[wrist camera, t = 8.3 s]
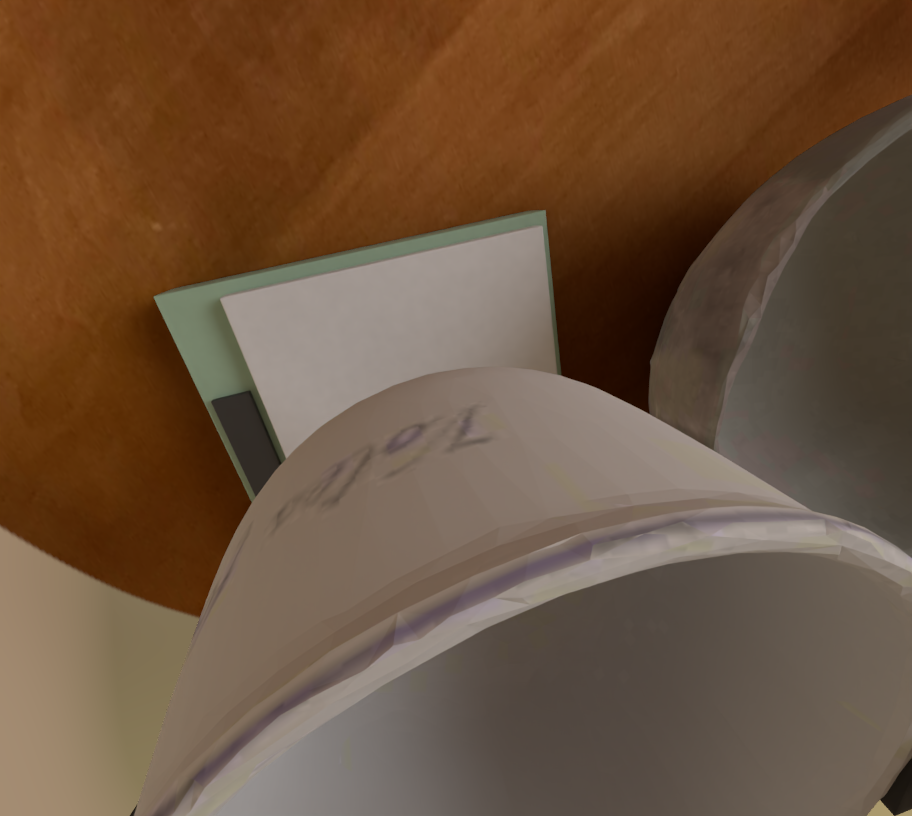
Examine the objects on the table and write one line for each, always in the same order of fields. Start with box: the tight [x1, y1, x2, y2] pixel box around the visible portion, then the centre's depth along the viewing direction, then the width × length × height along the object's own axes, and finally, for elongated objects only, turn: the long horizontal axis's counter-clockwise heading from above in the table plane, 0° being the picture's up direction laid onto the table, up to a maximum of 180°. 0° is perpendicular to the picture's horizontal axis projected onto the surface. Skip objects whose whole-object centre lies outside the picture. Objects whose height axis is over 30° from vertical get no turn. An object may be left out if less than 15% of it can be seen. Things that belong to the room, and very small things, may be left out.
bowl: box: [649, 95, 912, 558], centre depth 21 cm, size 20×20×10 cm
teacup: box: [134, 366, 912, 816], centre depth 9 cm, size 14×11×8 cm
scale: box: [154, 210, 561, 502], centre depth 22 cm, size 16×17×3 cm
